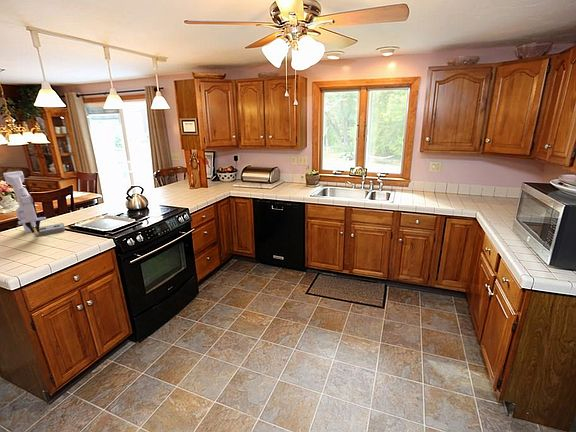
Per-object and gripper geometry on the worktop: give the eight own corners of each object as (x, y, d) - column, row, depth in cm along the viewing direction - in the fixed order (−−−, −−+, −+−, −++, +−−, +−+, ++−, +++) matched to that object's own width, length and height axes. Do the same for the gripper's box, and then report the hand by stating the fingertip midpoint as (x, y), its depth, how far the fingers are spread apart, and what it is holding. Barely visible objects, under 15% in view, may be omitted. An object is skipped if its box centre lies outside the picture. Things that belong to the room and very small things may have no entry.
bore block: (37, 231, 216) (36, 227, 215) (64, 226, 225) (63, 222, 224) (36, 236, 207) (35, 232, 206) (64, 231, 216) (63, 227, 215)
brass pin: (34, 234, 204) (32, 226, 202) (39, 233, 205) (36, 225, 203) (34, 235, 202) (31, 227, 200) (39, 234, 204) (36, 226, 202)
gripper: (15, 217, 192) (21, 236, 196) (43, 212, 200) (49, 231, 204) (16, 214, 197) (22, 233, 201) (43, 210, 205) (49, 228, 209)
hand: (36, 232), depth 203 cm, fingers closed on brass pin, 2 cm apart
